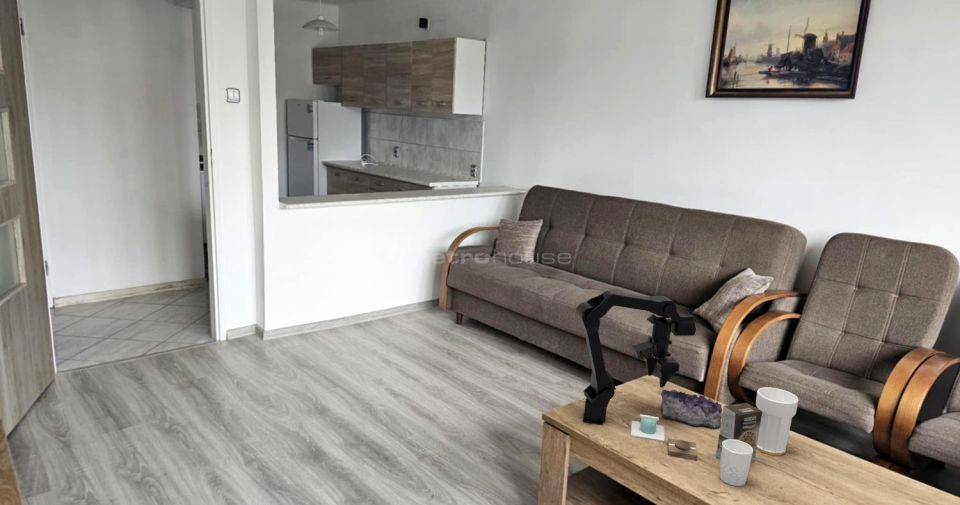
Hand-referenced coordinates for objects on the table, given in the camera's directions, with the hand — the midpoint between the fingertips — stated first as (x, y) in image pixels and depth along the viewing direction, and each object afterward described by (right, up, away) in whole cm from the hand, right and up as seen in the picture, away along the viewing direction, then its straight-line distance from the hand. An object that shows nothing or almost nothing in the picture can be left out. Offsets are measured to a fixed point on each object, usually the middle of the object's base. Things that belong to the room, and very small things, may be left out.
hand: (655, 381), depth 205 cm
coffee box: (+18, -19, -20) cm, 33 cm away
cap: (-4, -14, -7) cm, 16 cm away
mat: (-4, -14, -7) cm, 16 cm away
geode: (+12, -14, +4) cm, 19 cm away
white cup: (+13, -21, -31) cm, 39 cm away
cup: (+31, -18, -13) cm, 38 cm away
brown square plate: (+3, -17, -18) cm, 25 cm away
